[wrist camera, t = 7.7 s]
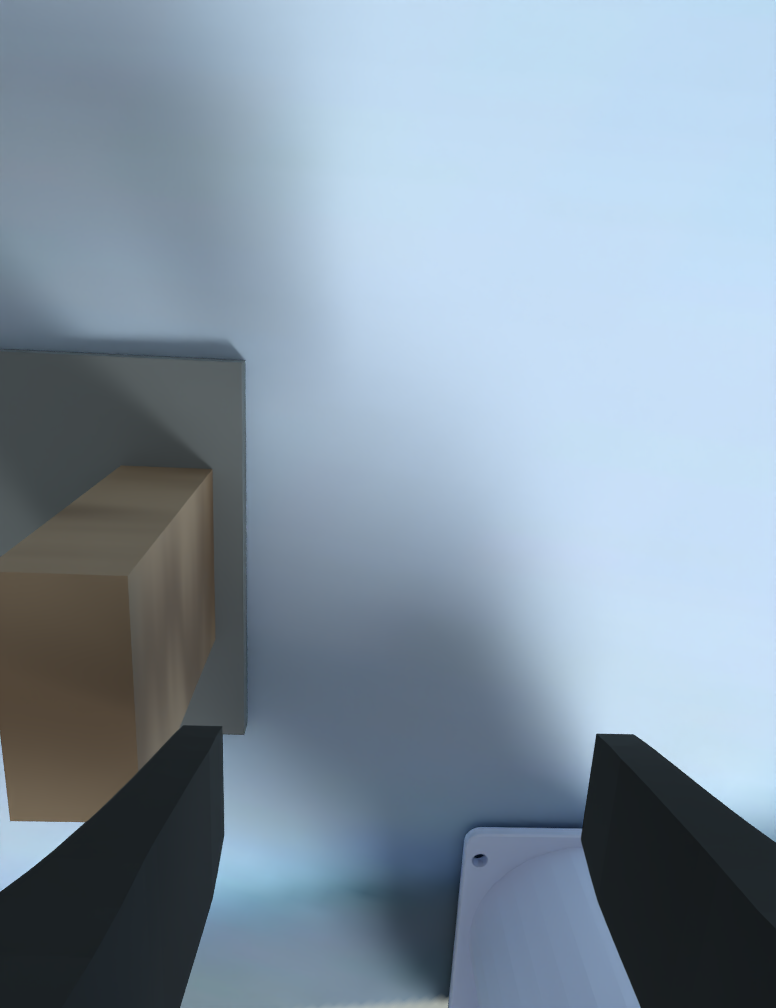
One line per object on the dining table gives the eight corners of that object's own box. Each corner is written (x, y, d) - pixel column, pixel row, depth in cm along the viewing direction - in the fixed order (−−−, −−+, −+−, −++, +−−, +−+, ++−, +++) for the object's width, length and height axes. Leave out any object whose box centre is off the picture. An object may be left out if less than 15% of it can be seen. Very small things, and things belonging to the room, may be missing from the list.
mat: (247, 723, 22) (244, 734, 22) (-124, 715, 22) (-137, 726, 21) (245, 360, 19) (241, 362, 19) (-188, 340, 19) (-204, 342, 18)
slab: (215, 638, 21) (140, 822, 14) (127, 636, 21) (4, 821, 14) (212, 469, 20) (127, 575, 12) (117, 465, 19) (-25, 571, 12)
